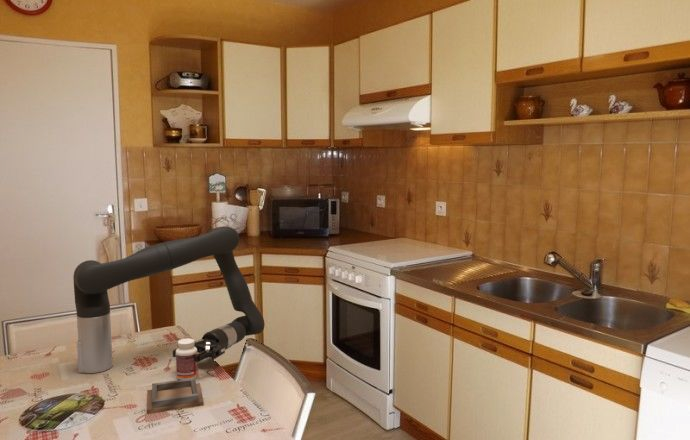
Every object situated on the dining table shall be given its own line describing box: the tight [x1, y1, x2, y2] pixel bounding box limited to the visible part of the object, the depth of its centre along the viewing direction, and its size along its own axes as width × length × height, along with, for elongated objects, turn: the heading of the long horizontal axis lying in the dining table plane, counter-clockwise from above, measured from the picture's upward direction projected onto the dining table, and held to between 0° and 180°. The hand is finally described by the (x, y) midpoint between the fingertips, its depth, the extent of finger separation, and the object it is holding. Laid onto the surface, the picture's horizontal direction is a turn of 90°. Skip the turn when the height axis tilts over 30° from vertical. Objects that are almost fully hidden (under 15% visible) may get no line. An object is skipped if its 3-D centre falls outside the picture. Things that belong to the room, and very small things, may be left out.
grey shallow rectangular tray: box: [146, 378, 205, 415], centre depth 140 cm, size 14×12×3 cm
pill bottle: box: [175, 338, 199, 380], centre depth 154 cm, size 6×6×11 cm
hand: (184, 356), depth 153 cm, fingers open, 8 cm apart
